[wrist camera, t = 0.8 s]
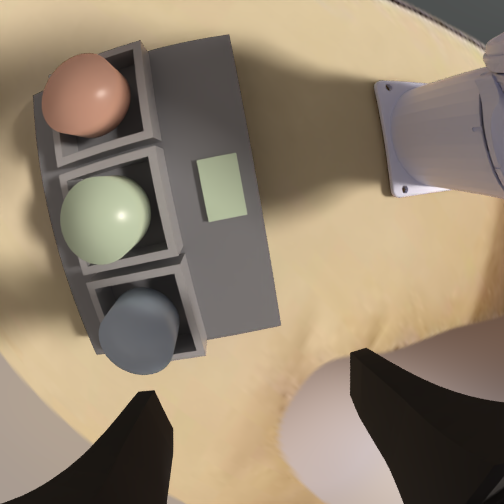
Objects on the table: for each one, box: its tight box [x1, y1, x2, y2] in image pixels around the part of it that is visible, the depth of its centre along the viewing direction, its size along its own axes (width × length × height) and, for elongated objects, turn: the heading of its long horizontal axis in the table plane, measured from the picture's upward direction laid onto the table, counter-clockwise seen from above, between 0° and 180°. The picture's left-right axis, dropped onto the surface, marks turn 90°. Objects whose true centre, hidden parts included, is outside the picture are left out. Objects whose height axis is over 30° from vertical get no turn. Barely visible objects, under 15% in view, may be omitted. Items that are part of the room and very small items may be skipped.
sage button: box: [60, 175, 151, 265], centre depth 12 cm, size 4×4×2 cm
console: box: [33, 35, 281, 361], centre depth 15 cm, size 12×17×4 cm
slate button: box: [99, 287, 180, 375], centre depth 14 cm, size 4×4×2 cm
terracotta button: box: [42, 53, 131, 138], centre depth 11 cm, size 4×4×2 cm
